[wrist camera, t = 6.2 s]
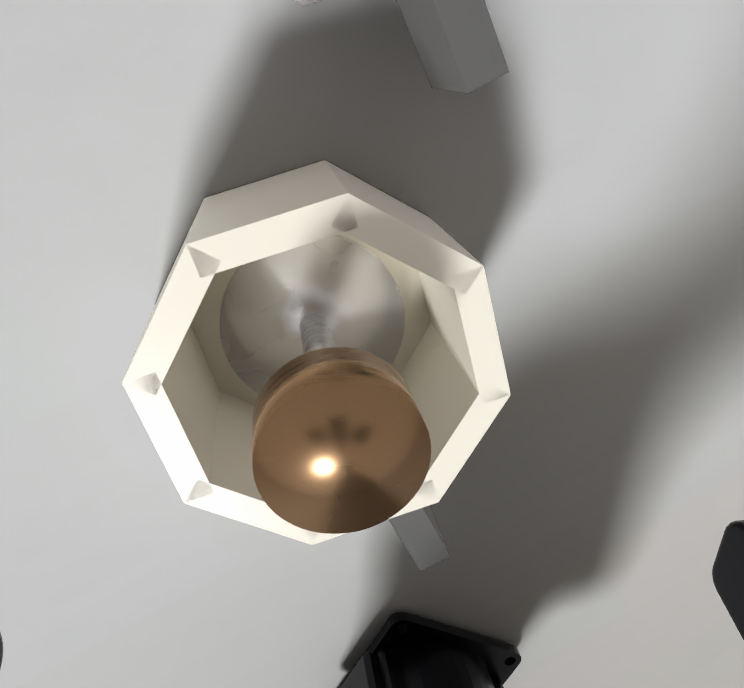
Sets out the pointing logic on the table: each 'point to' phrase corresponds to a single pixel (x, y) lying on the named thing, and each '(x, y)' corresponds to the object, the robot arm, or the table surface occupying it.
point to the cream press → (237, 400)
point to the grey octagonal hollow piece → (452, 42)
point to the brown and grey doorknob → (326, 385)
